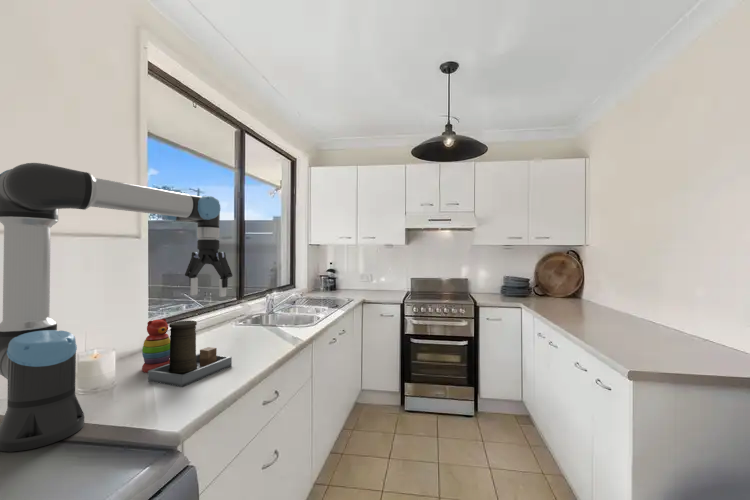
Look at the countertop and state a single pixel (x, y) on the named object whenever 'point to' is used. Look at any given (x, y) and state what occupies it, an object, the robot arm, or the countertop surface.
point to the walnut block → (207, 356)
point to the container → (182, 347)
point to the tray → (201, 372)
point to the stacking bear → (156, 345)
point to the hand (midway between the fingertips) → (208, 295)
